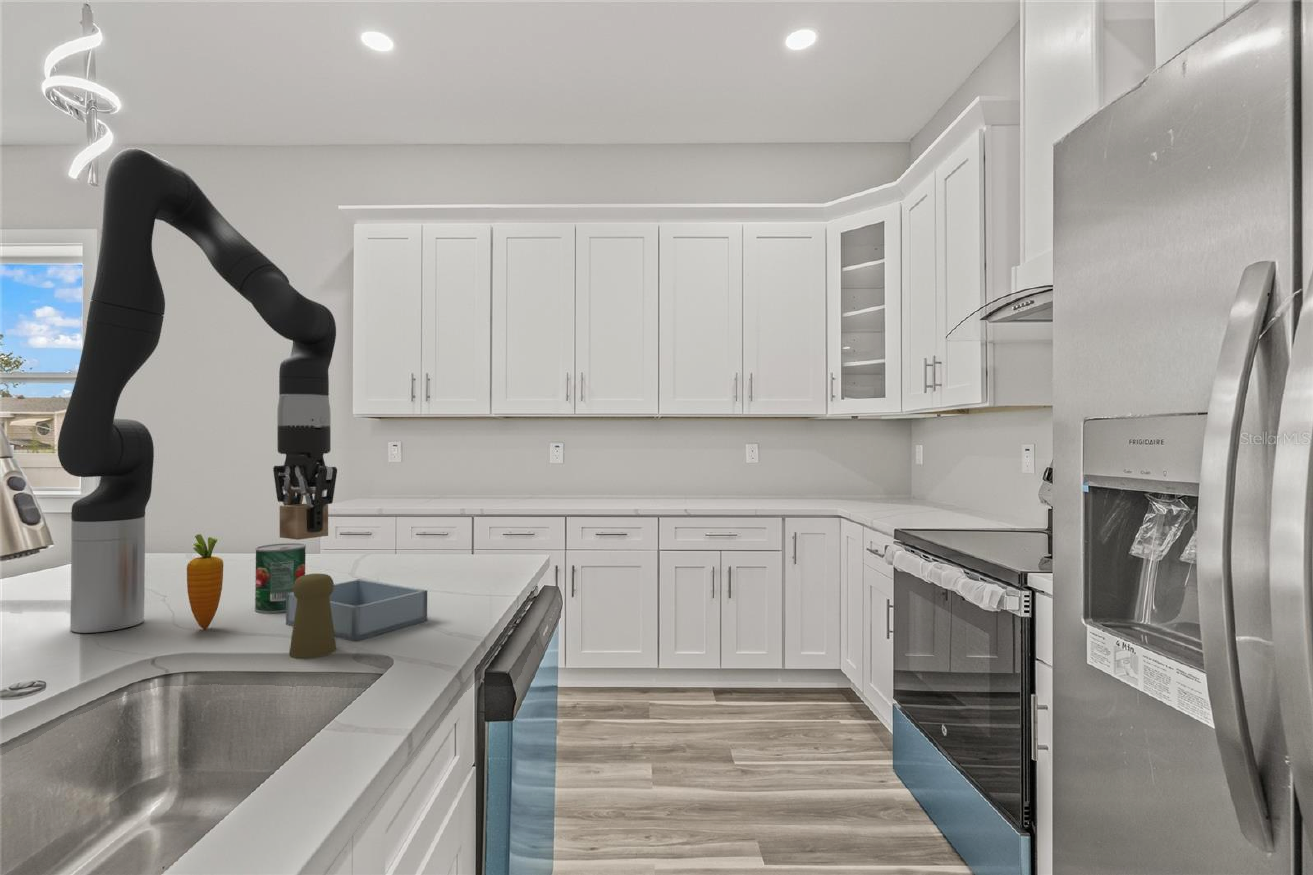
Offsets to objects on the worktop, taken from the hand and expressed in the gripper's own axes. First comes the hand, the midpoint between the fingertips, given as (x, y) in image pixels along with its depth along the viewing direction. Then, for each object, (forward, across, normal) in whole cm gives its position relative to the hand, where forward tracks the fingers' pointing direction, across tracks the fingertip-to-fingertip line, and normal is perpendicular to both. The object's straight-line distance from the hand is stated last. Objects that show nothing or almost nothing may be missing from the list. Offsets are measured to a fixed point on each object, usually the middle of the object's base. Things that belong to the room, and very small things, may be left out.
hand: (304, 530), depth 107 cm
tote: (+16, +4, +7) cm, 18 cm away
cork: (+16, +12, -6) cm, 21 cm away
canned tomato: (+16, -16, +5) cm, 23 cm away
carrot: (+16, -13, -8) cm, 22 cm away
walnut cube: (+1, 0, 0) cm, 1 cm away
